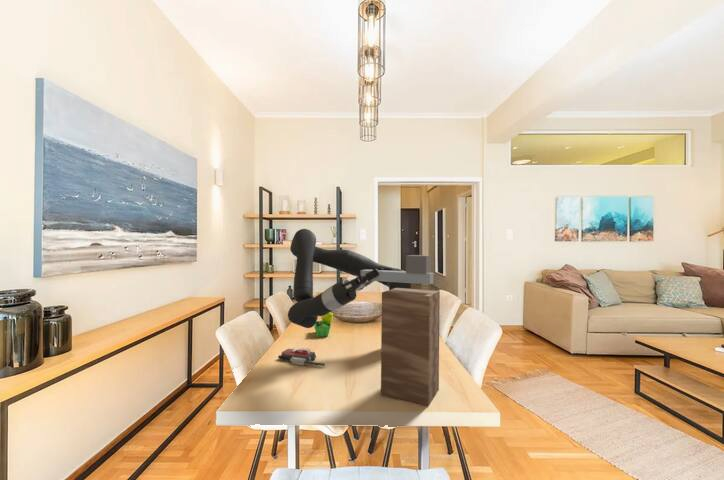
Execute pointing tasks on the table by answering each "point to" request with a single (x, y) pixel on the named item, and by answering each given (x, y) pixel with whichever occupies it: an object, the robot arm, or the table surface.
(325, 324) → the green potted plant
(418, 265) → the gray l-shaped block
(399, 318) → the walnut stand
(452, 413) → the table surface
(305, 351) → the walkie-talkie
